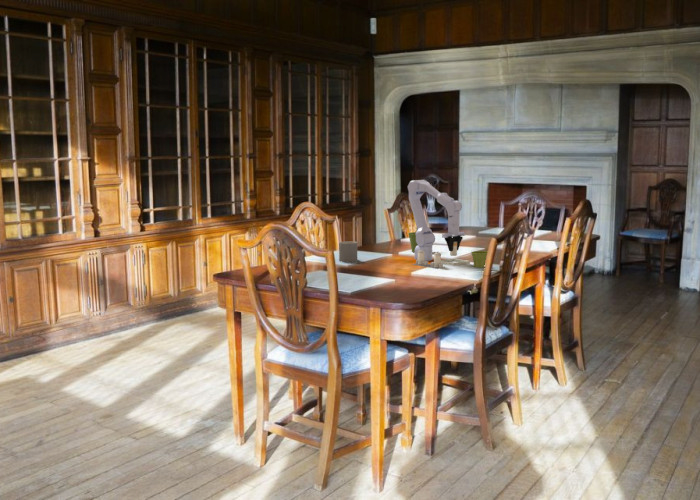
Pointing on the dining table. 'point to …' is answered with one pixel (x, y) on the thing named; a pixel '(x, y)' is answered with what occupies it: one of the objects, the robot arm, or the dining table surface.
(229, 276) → the dining table surface
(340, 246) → the grey block
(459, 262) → the tray
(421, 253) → the fuse left
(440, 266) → the fuse holder
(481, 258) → the plant pot
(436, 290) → the dining table surface
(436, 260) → the fuse right
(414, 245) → the plant pot
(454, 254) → the cylinder
